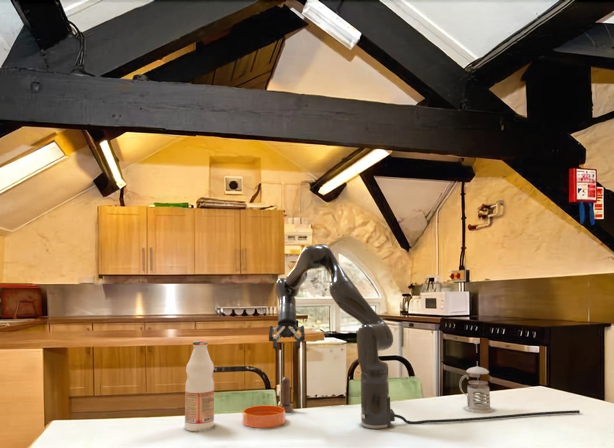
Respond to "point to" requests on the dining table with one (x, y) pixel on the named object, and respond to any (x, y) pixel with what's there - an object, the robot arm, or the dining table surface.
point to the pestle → (286, 396)
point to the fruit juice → (199, 389)
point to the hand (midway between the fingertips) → (286, 348)
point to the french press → (481, 388)
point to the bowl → (263, 416)
